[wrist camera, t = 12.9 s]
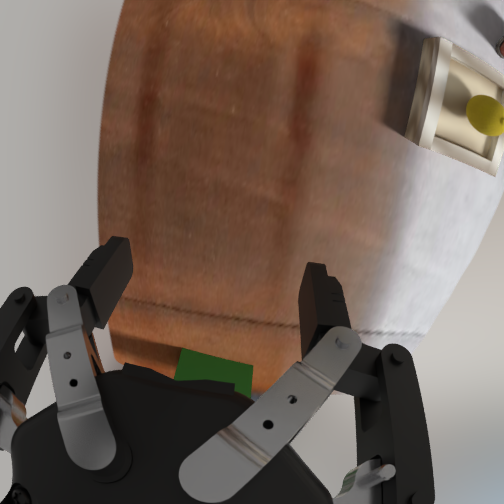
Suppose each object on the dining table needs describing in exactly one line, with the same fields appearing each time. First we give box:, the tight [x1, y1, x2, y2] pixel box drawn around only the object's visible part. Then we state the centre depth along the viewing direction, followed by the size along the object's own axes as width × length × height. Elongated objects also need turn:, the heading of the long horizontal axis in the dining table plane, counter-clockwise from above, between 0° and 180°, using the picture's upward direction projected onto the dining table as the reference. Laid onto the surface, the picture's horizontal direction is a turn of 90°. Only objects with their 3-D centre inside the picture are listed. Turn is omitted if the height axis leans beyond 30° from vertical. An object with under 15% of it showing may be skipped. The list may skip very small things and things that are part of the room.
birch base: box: [404, 37, 504, 177], centre depth 29 cm, size 16×16×6 cm
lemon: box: [466, 95, 504, 136], centre depth 25 cm, size 6×6×8 cm
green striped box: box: [174, 348, 253, 399], centre depth 59 cm, size 18×7×24 cm, turn 73°
